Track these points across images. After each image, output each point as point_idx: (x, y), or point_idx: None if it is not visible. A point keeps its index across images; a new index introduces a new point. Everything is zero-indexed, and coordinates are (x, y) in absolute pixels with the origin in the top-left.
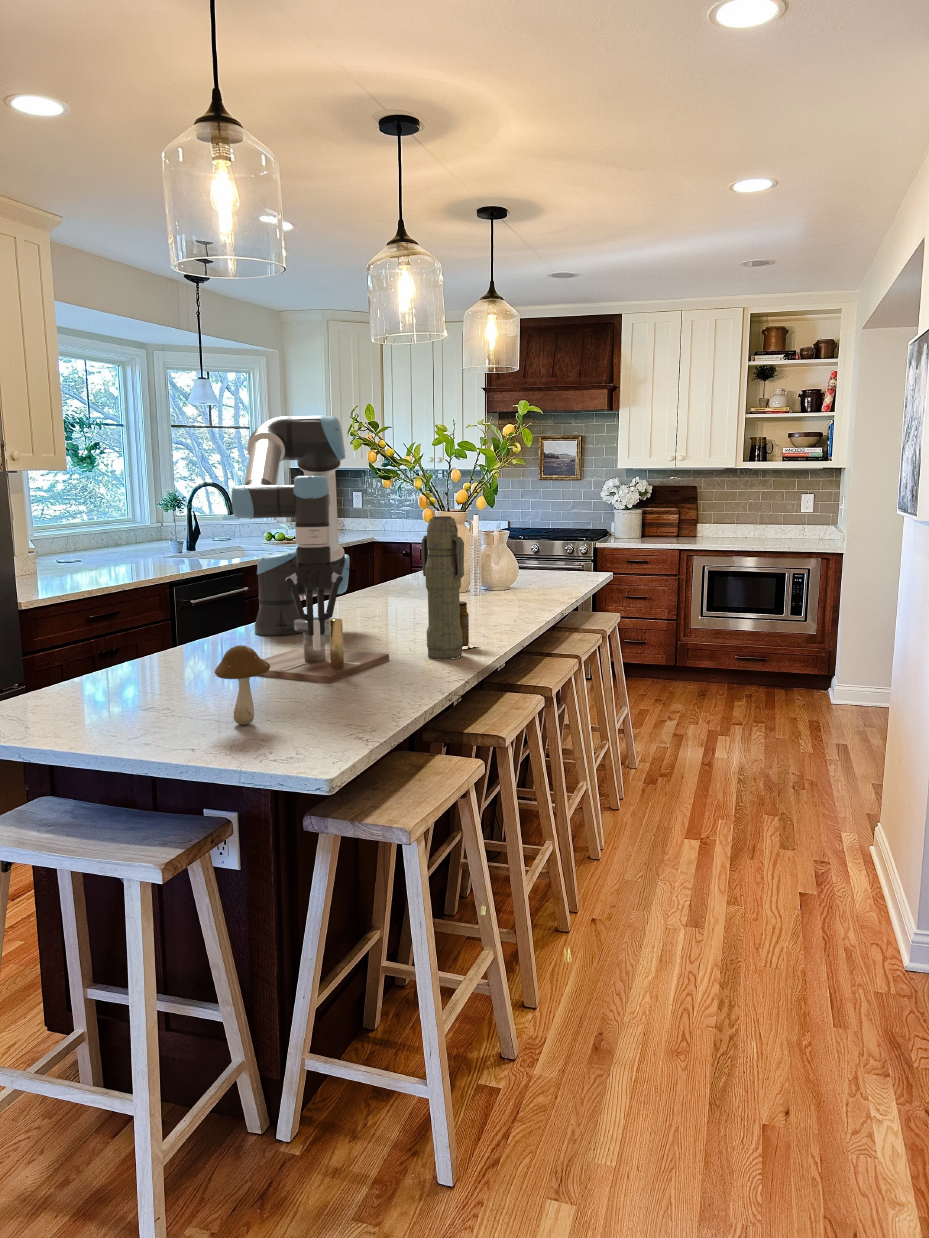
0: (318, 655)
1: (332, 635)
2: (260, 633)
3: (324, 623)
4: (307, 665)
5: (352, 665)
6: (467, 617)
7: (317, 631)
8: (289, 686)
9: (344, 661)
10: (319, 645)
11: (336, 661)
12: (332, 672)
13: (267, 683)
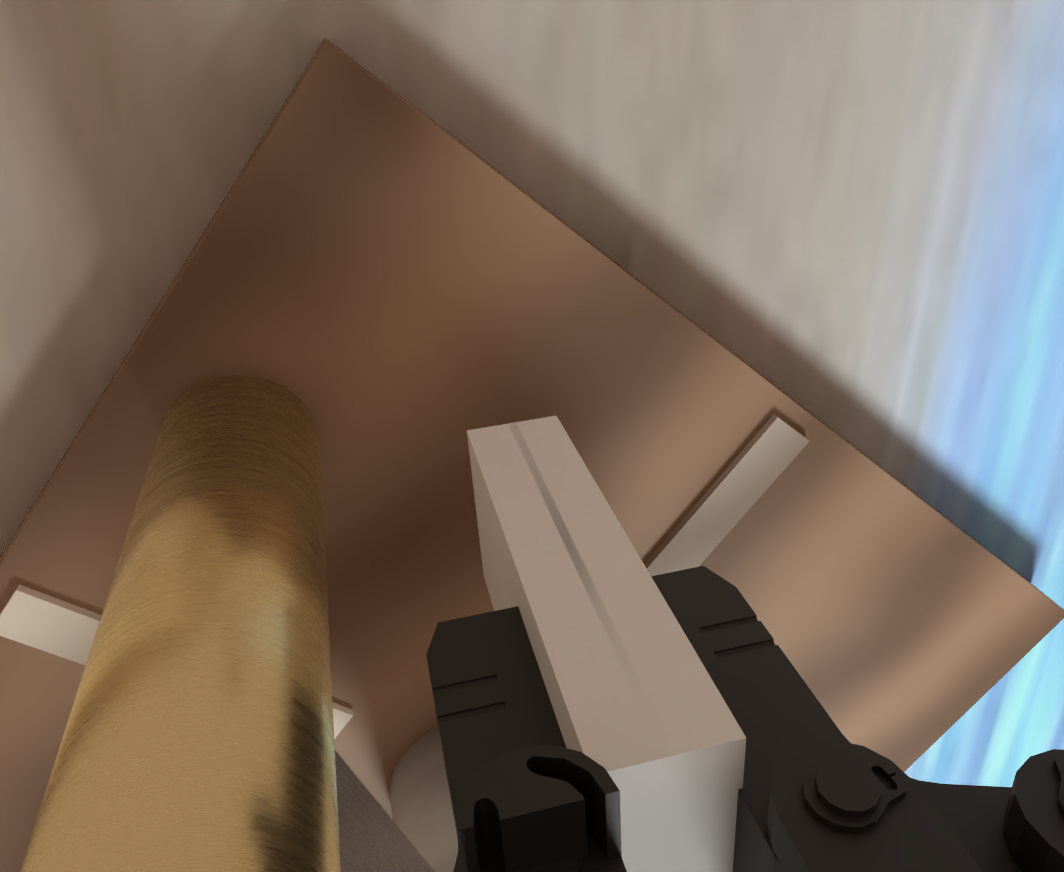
0: None
1: (272, 646)
2: None
3: (454, 811)
4: None
5: (80, 569)
6: None
7: (584, 600)
8: (759, 2)
9: None
10: (495, 460)
11: (241, 409)
12: (294, 266)
13: (920, 203)
